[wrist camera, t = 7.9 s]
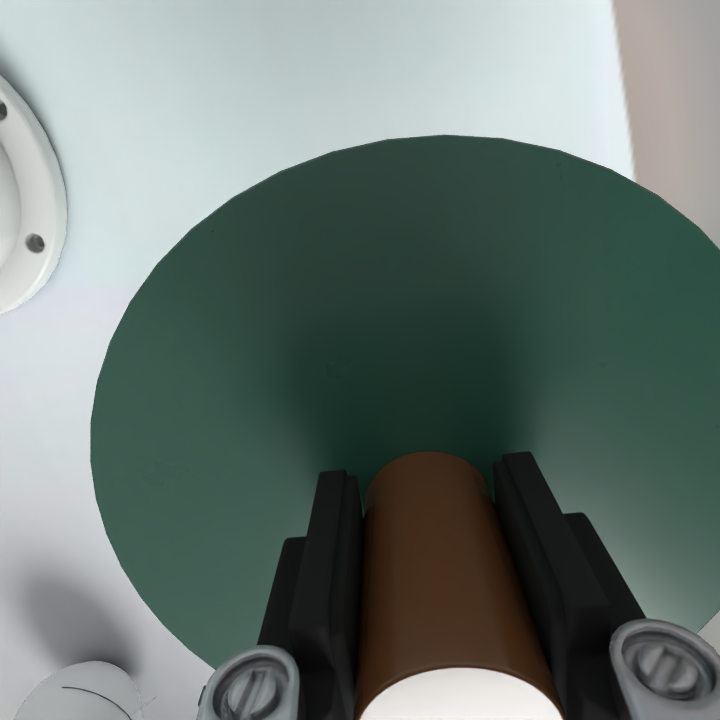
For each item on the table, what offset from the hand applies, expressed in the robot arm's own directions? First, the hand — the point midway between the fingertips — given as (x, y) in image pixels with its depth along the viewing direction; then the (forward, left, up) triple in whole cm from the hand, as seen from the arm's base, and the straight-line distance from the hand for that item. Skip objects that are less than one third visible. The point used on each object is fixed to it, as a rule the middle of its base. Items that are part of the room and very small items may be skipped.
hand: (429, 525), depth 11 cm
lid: (0, 0, -1) cm, 1 cm away
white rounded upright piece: (-5, -30, -16) cm, 34 cm away
